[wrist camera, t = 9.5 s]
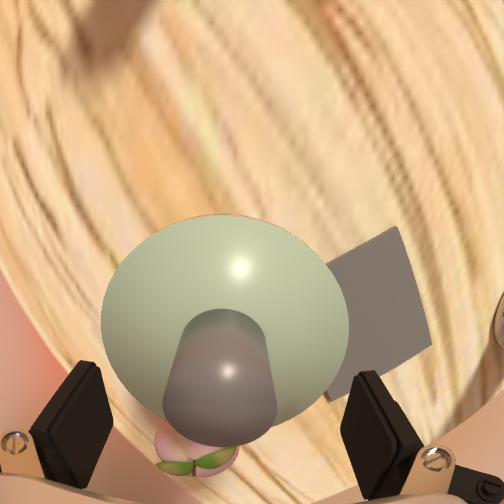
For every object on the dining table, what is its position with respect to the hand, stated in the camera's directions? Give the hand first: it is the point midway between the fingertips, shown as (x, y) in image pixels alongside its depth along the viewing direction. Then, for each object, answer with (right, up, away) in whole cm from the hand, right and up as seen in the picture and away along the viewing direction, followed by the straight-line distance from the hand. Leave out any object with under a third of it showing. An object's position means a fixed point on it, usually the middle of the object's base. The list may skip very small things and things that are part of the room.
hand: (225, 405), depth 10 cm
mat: (+13, -2, +22) cm, 25 cm away
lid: (0, +1, +5) cm, 5 cm away
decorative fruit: (-5, -14, +24) cm, 28 cm away
